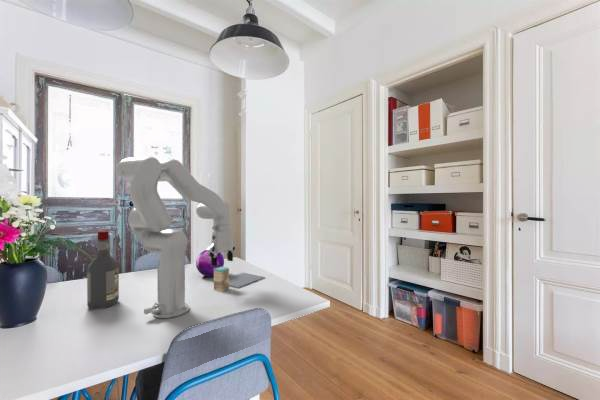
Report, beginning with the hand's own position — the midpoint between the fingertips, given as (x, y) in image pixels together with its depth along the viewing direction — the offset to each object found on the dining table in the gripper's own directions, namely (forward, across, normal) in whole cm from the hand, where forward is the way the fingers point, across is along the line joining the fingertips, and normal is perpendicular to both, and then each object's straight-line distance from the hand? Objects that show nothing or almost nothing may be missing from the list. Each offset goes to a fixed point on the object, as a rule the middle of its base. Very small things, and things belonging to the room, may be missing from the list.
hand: (222, 263), depth 130 cm
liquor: (+12, -40, +26) cm, 49 cm away
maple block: (+12, -1, 0) cm, 12 cm away
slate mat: (+13, +14, +2) cm, 19 cm away
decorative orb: (+13, +11, +23) cm, 28 cm away
